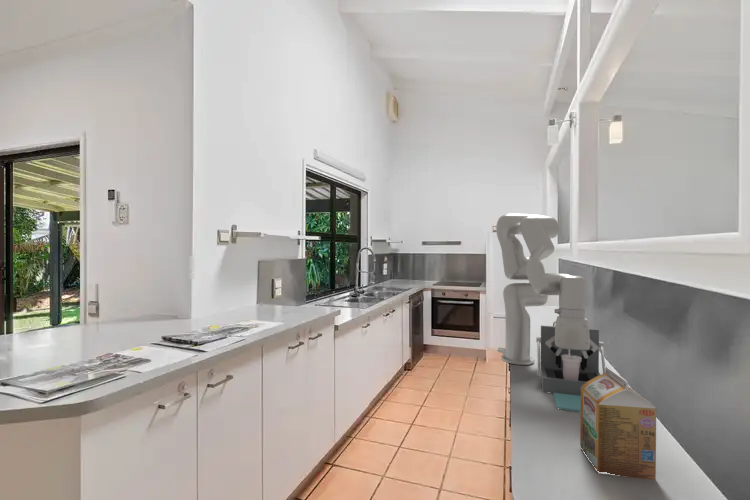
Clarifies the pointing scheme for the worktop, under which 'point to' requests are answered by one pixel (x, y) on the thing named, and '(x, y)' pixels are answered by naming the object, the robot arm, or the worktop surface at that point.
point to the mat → (568, 401)
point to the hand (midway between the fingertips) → (570, 367)
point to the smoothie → (570, 366)
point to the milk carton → (618, 427)
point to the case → (551, 372)
